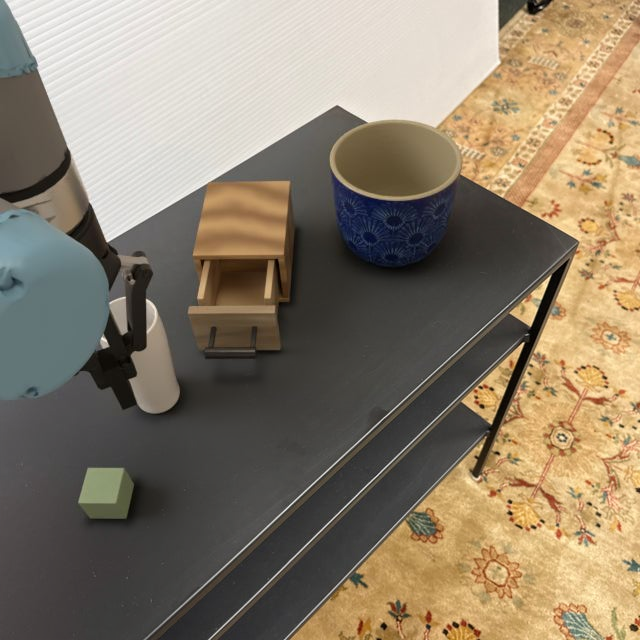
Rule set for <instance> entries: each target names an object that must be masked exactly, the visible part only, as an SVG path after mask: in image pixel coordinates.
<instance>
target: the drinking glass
mask: <svg viewBox="0 0 640 640" xmlns="http://www.w3.org/2000/svg"><path fill="white" fill-rule="evenodd" d="M109 304H110V310H111V312H112V314H113V316H114V319H115V321H116V323H117V325H118V327H119V330H120V332H121V334H122V335H123V334H125V333H127V332H128V331H127V317H126V296H123V297H118V298H116V299H114V300H112V301H109ZM146 320H147V347H146V349H145V350H143V351H140V352H137V351H134V352H133V353H132V354H131V358H132V360H133V362H134V365H135V368H136V371H137V377H134V378H131V379H129V381H130V384H131V386H132V389H133V392H134V395H135V398H136V401H137V404H138V405H137V406H138V407H139V409H141V410H142V411H144V412H145V413H148V414H155V415H156V414H162V413H165V412H168V411H169V410H170V409H173V407H174V406H175V405H176V404H177V402H178V400H179V399H180V394H181V388H180V385H179V382H178V379H177V376H176V371H175V365H174V362H173V357H172V353H171V348H170V344H169V339H168V334H167V332H166V329H165V325H164V323H163V321H162V318H161V316H160V313H159V311H158V309H157V307H156V305H155V304H154V303H153V302H152V301H151V300H150V299H147V298H146ZM99 344H100V346H101V349H104V348H107V347H109V344H108V342H107V340H106V338H105V336H104V334H103V335H102V338H101V340H100V342H99Z"/></svg>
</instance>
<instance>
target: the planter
mask: <svg viewBox="0 0 640 640" xmlns="http://www.w3.org/2000/svg"><path fill="white" fill-rule="evenodd" d="M463 165H464V164H463V154H462V152H461V149H460V148H459V146H458V145H457V143H456V141H454V139H453V138H452V137H450V136H449V135H448V134H447V133H445V132H443V131H442V130H440V129H438V128H436V127H434V126H432V125H429V124H426V123H423V122H419V121H415V120H408V119H382V120H375V121H370V122H367V123H364V124H361V125H358V126H355V127H354V128H352V129H350V130H348V131H347V132H345V133H344V134H343V135H341V136H340V137H339V138H338V139H337V141H336V142H335V143H334V145H333V146H332V148H331V151H330V154H329V166H330V167H329V169H330V177H331V185H332V193H333V201H334V210H335V217H336V218H335V219H336V225H337V227H338V231H339V233H340V236H341V239H342V240H343V242H344V243H345V245H346V246H347V248H348V249H349V250H350V251H351V252H352V253H353V254H354V255H355V256H356V257H358V258H360V260H363V261H365V262H367V263H369V264H372V265H374V266H377V267H382V268H383V267H384V268H400V267H406V266H410V265H413V264H415V263H418V262H420V261H421V260H423V259H425V258H426V257H428V256H429V255H430V254H431V253H432V252H433V251H434V250H435V249H437V247H438V246H439V244H440V243H441V241H442V239H443V237H444V235H445V234H446V231H447V228H448V225H449V222H450V217H451V213H452V209H453V206H454V201H455V198H456V194H457V189H458V185H459V181H460V177H461V174H462V170H463Z"/></svg>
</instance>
